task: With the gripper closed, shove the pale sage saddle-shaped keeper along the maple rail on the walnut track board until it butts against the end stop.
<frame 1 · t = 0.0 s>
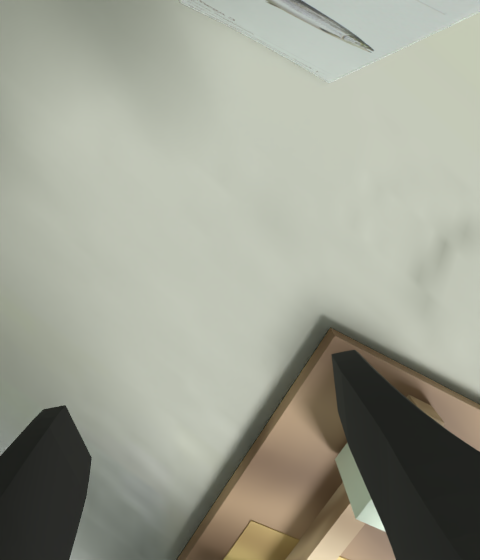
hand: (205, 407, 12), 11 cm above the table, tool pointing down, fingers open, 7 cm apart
track board: (333, 494, 26), on the table
keeper: (404, 474, 22), point 3 cm above the table, slide at 0.0 cm
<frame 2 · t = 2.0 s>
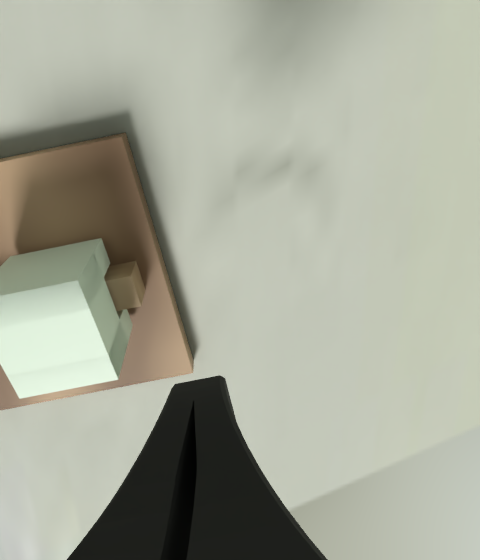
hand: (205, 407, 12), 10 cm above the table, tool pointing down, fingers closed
keeper: (61, 315, 18), point 3 cm above the table, slide at 0.0 cm
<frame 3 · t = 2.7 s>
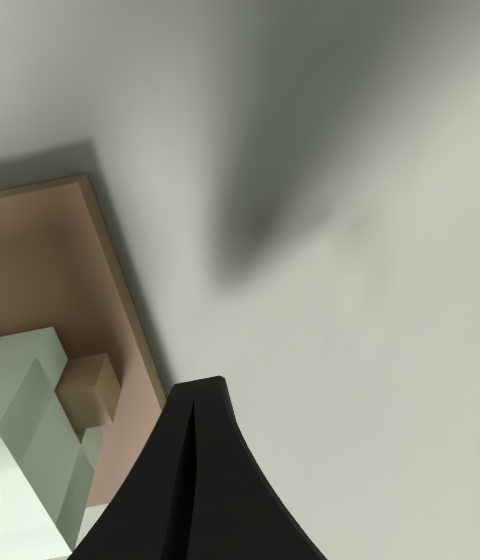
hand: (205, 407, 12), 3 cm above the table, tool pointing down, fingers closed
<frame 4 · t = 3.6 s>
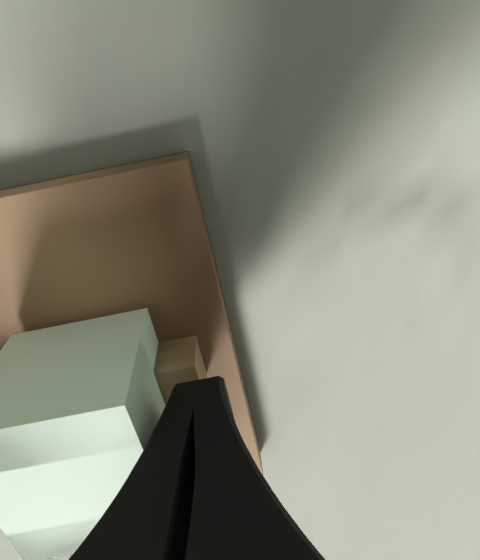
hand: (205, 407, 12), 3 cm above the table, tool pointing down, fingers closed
keeper: (89, 429, 12), point 3 cm above the table, slide at 0.1 cm, touching gripper
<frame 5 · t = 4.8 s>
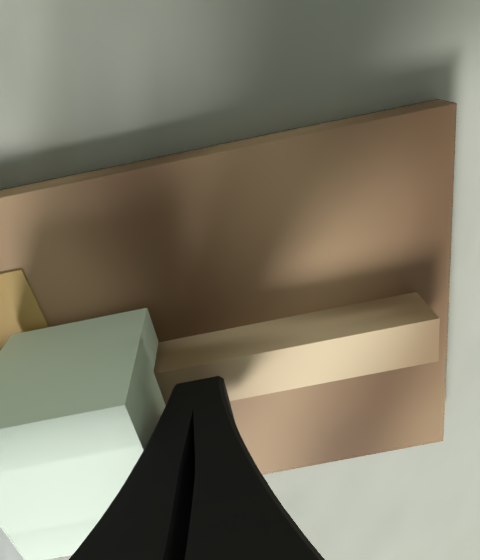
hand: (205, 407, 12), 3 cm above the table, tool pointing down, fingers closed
track board: (168, 342, 15), on the table
keeper: (90, 428, 12), point 3 cm above the table, slide at 6.9 cm, touching gripper
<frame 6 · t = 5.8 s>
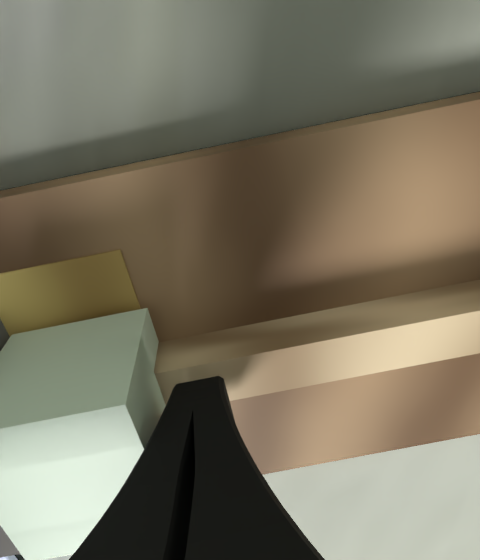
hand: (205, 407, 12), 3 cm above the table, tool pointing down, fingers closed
track board: (249, 326, 15), on the table
keeper: (90, 428, 12), point 3 cm above the table, slide at 9.7 cm, touching gripper
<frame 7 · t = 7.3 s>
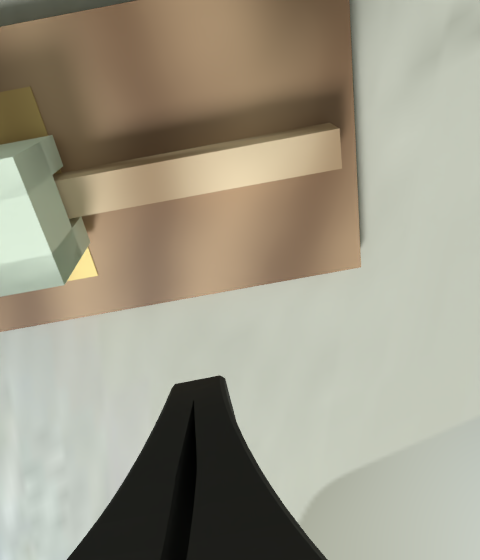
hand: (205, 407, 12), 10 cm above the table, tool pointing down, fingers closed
track board: (142, 171, 19), on the table
keeper: (4, 216, 16), point 3 cm above the table, slide at 9.7 cm
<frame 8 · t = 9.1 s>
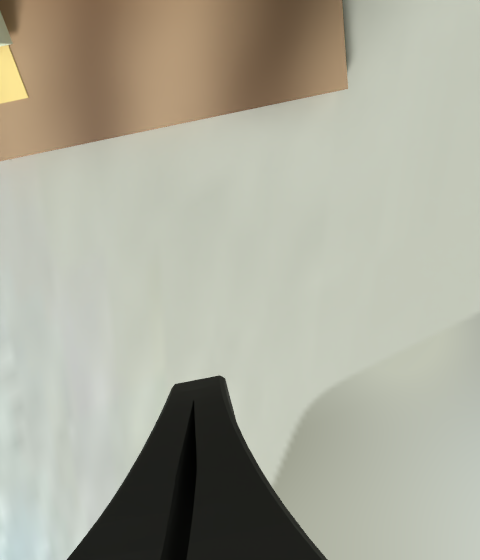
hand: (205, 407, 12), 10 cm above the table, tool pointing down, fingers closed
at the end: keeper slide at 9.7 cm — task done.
